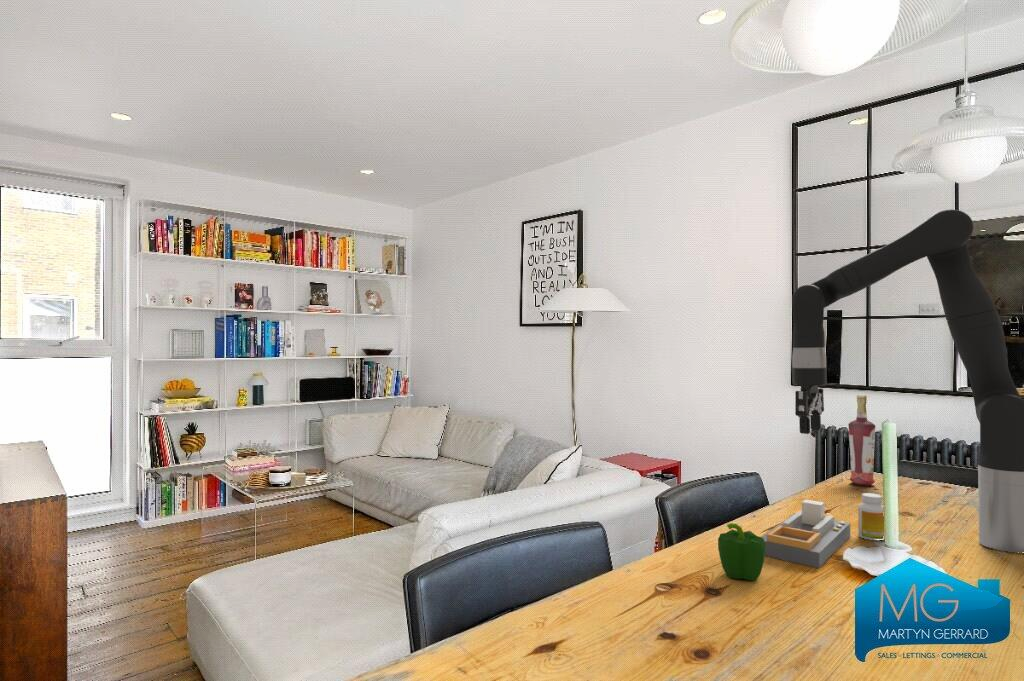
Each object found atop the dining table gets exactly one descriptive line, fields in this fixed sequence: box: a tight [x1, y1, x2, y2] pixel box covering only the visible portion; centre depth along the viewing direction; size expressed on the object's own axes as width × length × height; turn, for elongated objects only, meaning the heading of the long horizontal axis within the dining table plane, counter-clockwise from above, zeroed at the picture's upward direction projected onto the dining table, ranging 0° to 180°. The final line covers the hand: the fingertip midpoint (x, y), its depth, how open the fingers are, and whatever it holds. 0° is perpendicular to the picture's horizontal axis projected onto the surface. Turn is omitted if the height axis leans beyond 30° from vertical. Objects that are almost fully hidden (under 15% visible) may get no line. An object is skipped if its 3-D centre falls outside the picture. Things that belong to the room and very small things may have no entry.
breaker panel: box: [760, 509, 851, 569], centre depth 130 cm, size 12×26×5 cm, turn 138°
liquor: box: [848, 394, 876, 487], centre depth 186 cm, size 7×7×28 cm
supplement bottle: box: [857, 492, 884, 541], centre depth 134 cm, size 5×5×10 cm
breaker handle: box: [801, 499, 826, 526], centre depth 134 cm, size 4×3×5 cm
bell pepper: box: [717, 522, 766, 581], centre depth 112 cm, size 8×8×10 cm
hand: (810, 431), depth 146 cm, fingers open, 8 cm apart
